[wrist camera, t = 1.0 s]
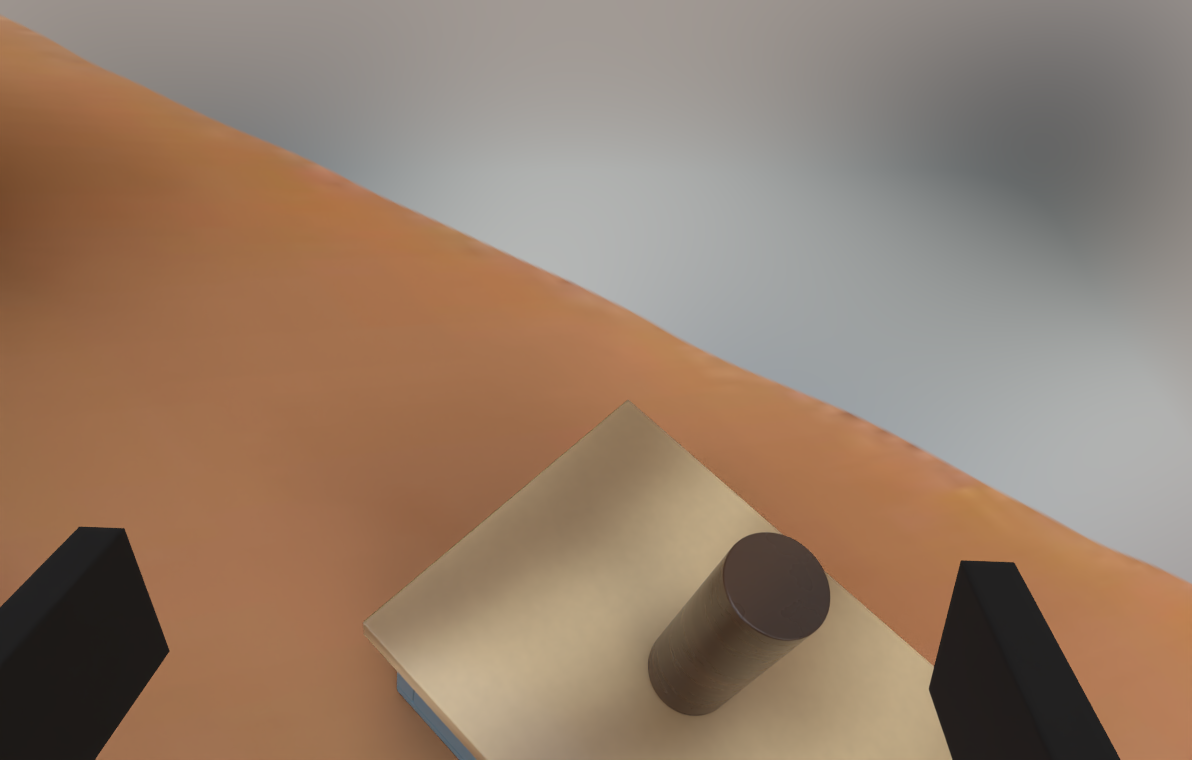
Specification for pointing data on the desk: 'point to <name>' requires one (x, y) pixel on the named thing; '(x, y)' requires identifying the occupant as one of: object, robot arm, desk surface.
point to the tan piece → (650, 625)
